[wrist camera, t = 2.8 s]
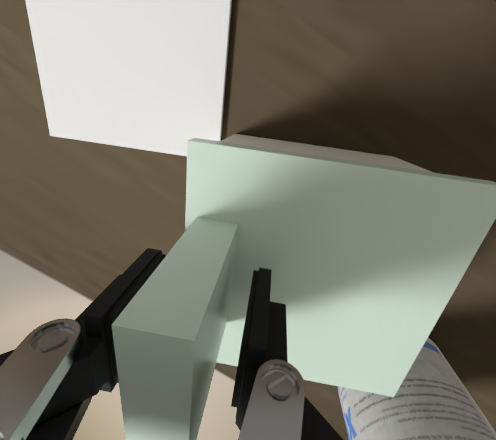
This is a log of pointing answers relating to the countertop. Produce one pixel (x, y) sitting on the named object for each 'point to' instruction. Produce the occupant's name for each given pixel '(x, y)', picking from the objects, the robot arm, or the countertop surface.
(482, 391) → the countertop surface
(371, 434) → the supplement tub
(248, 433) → the robot arm
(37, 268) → the countertop surface
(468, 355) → the countertop surface
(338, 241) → the lid
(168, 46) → the mat
